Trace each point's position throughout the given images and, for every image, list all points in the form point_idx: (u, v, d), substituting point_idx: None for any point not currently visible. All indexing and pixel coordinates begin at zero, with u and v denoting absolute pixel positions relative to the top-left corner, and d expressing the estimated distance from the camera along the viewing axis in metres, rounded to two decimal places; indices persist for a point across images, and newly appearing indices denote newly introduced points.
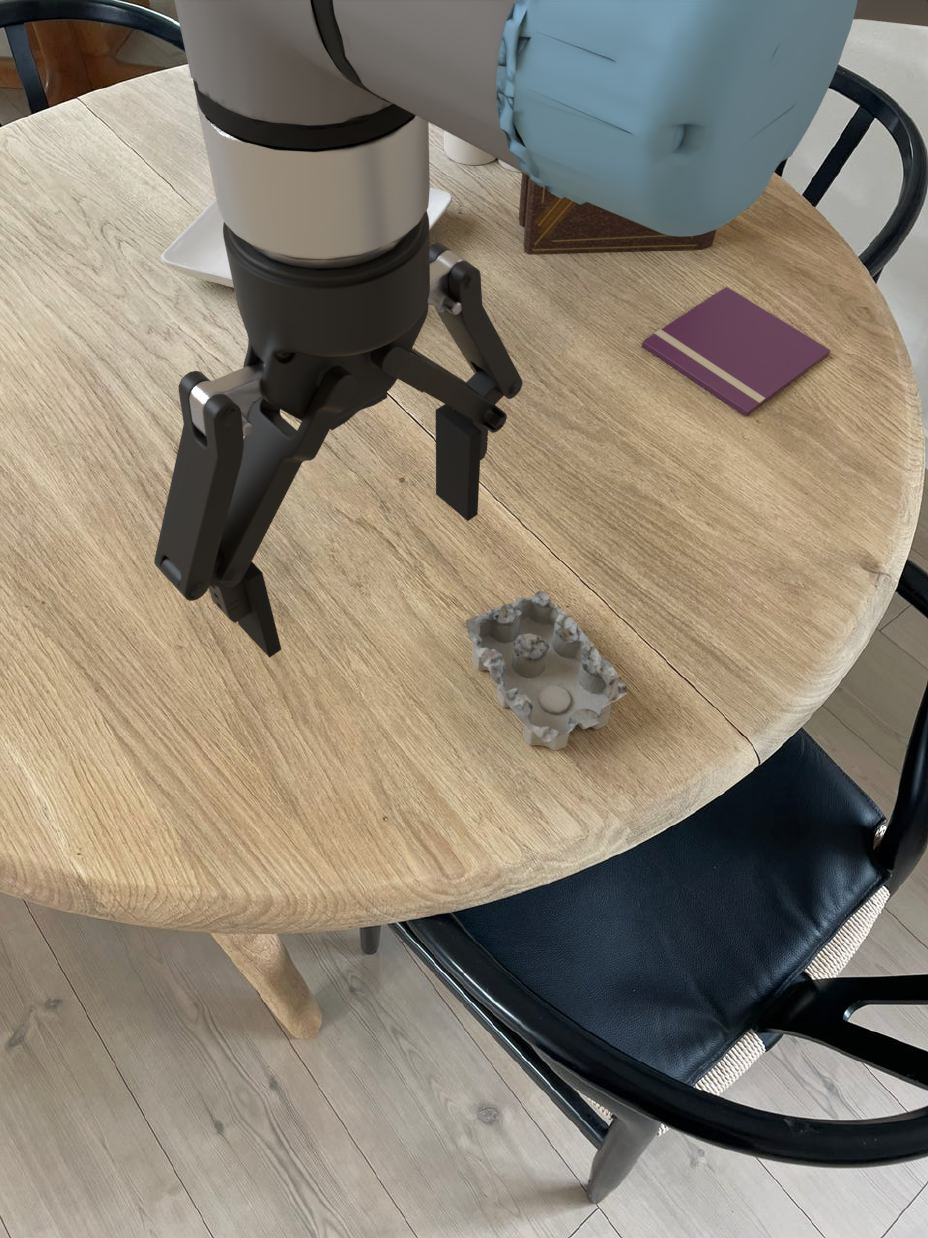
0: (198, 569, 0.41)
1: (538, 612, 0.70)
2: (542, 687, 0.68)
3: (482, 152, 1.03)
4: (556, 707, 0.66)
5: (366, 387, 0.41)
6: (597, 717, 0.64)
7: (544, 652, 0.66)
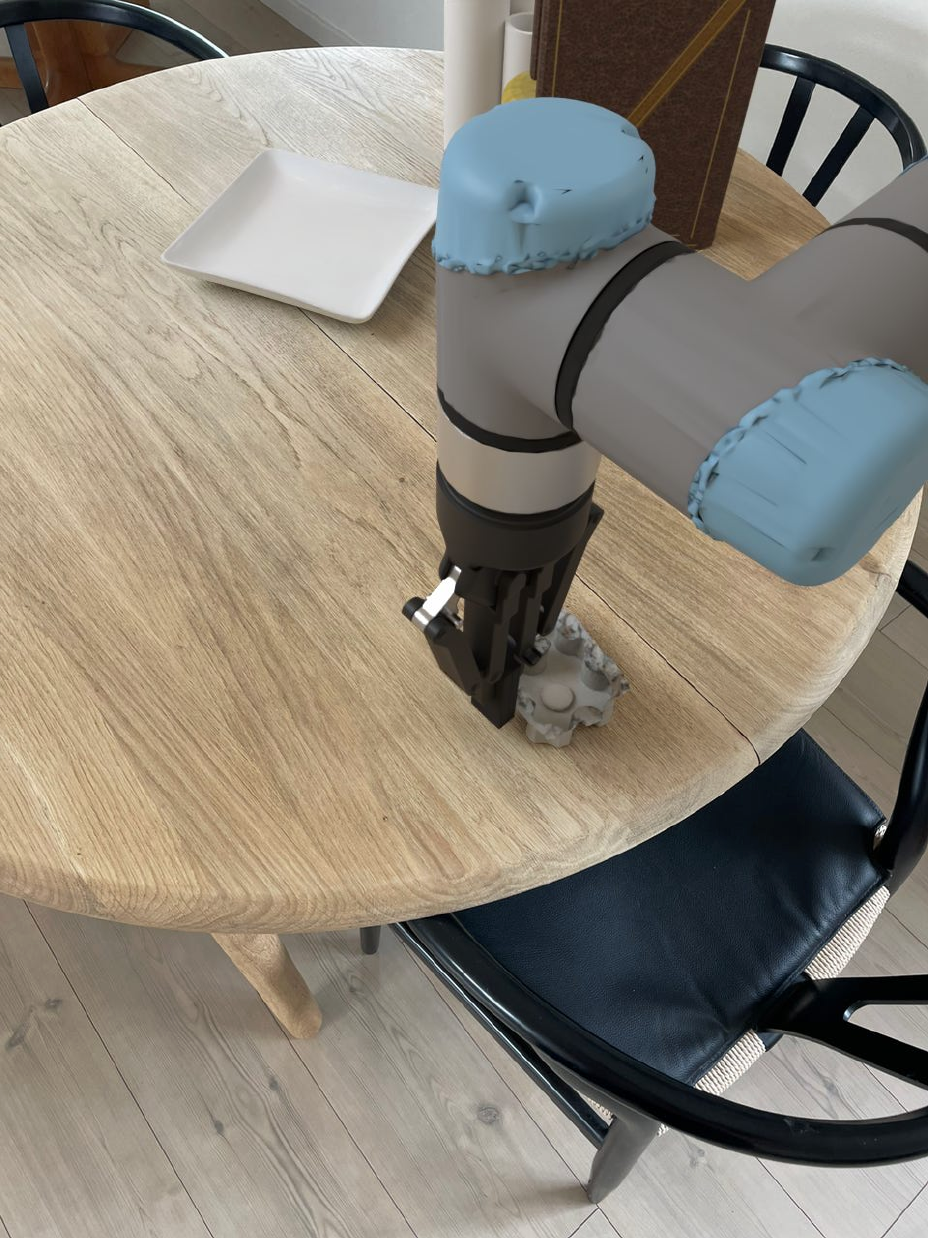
0: (469, 683, 0.55)
1: None
2: (544, 685, 0.68)
3: None
4: (559, 704, 0.67)
5: (526, 573, 0.51)
6: (600, 714, 0.64)
7: (546, 650, 0.66)
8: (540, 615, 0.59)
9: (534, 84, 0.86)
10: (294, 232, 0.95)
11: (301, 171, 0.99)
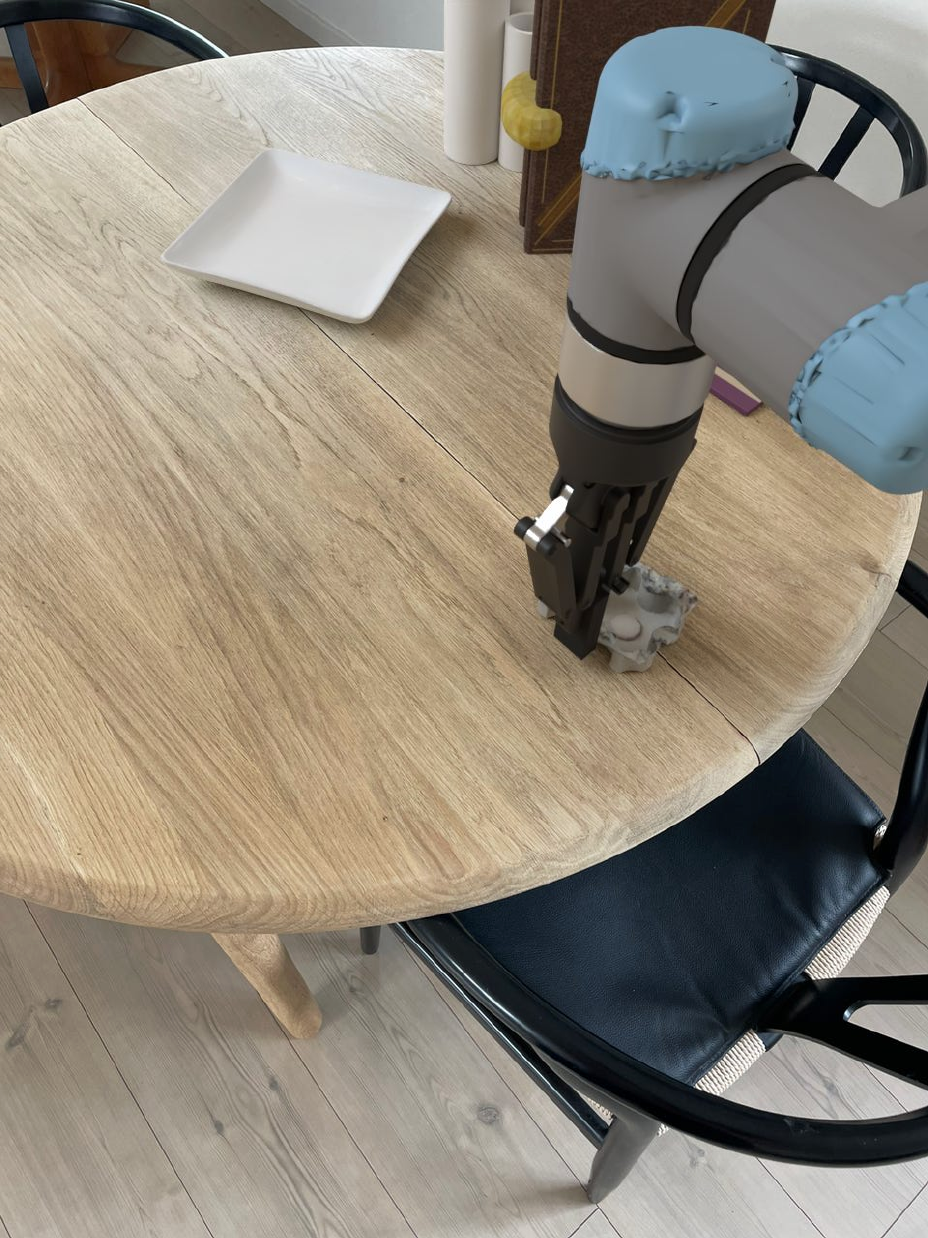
0: (566, 606, 0.58)
1: None
2: (610, 618, 0.71)
3: (482, 152, 1.03)
4: (630, 633, 0.70)
5: None
6: (676, 631, 0.68)
7: None
8: None
9: (534, 84, 0.86)
10: (294, 232, 0.95)
11: (301, 171, 0.99)
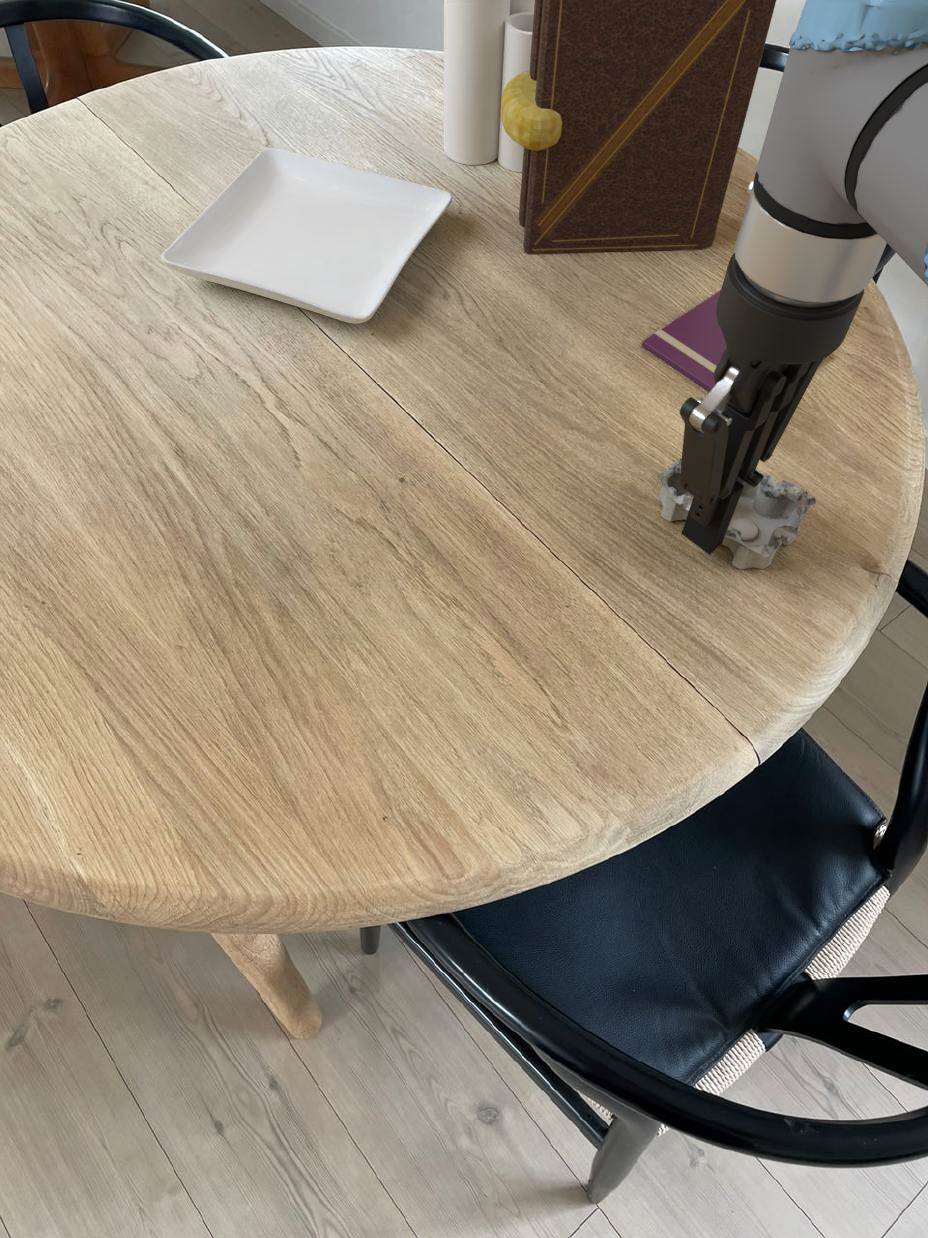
0: (712, 491, 0.64)
1: None
2: None
3: (482, 152, 1.03)
4: (749, 534, 0.75)
5: None
6: (795, 530, 0.73)
7: None
8: None
9: (534, 84, 0.86)
10: (294, 232, 0.95)
11: (301, 171, 0.99)
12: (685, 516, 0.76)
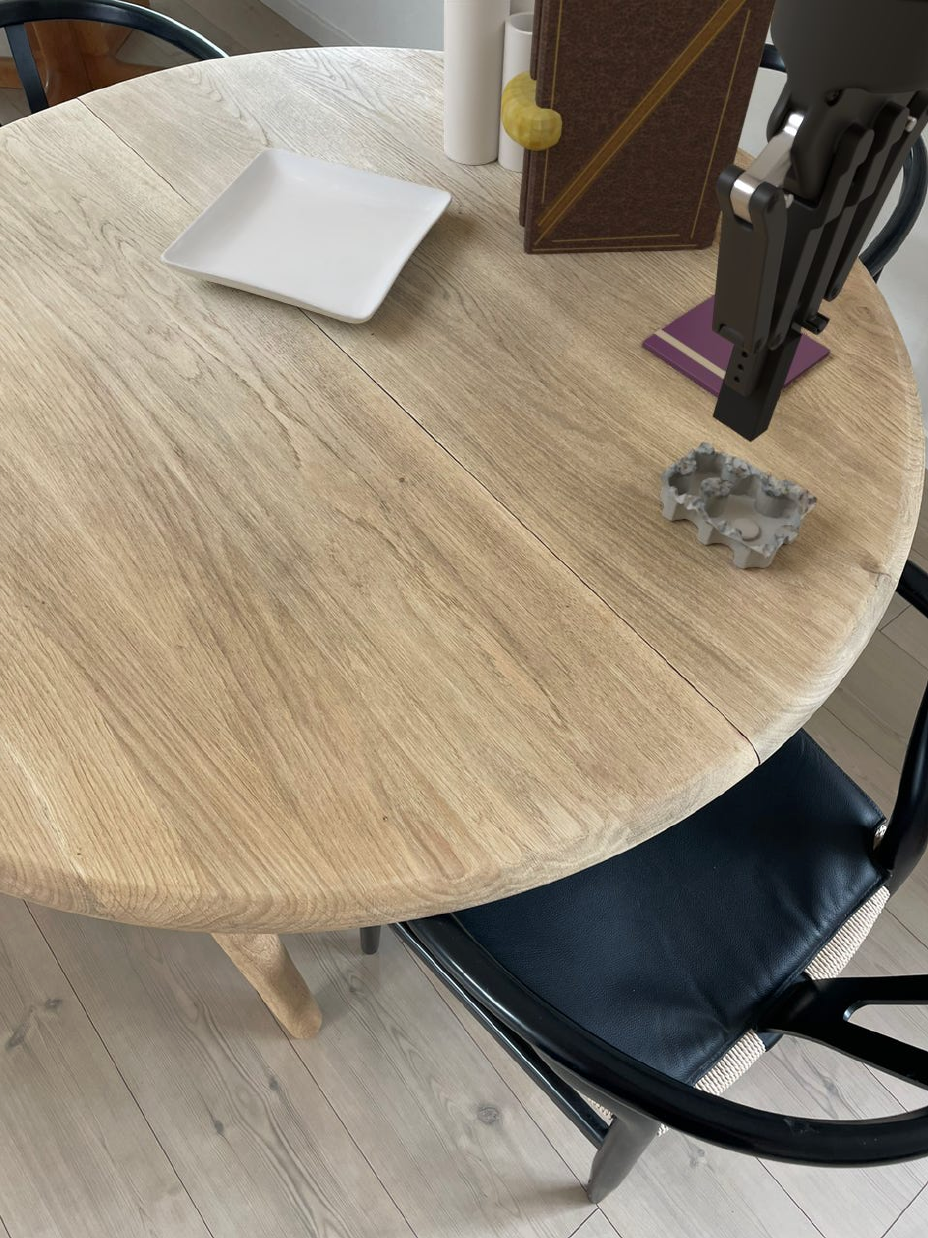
0: (759, 329, 0.45)
1: (704, 461, 0.78)
2: None
3: (482, 152, 1.03)
4: (750, 534, 0.75)
5: None
6: (796, 529, 0.73)
7: (731, 488, 0.75)
8: None
9: (534, 84, 0.86)
10: (294, 232, 0.95)
11: (301, 171, 0.99)
12: (686, 515, 0.76)
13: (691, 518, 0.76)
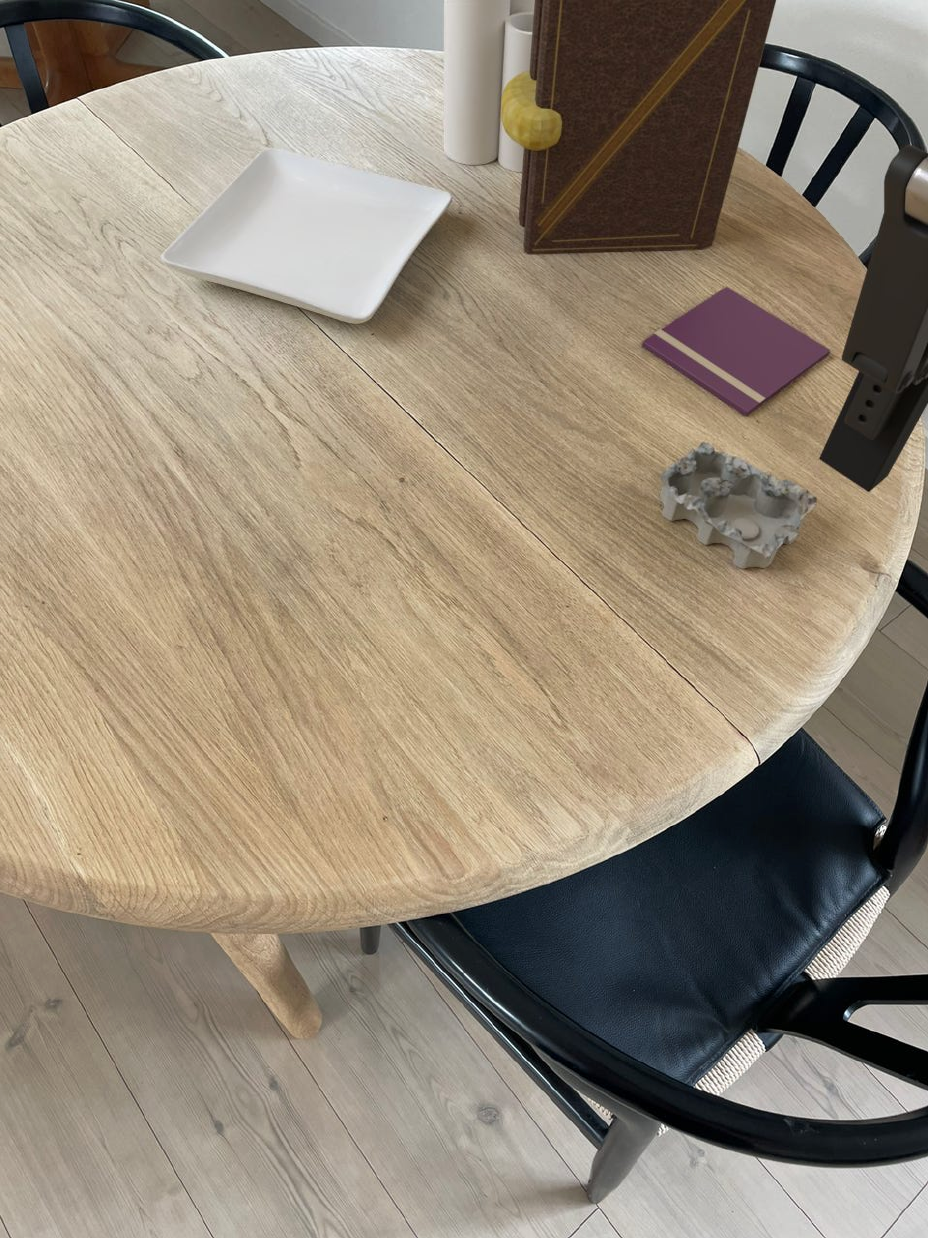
0: (911, 361, 0.35)
1: (704, 461, 0.78)
2: None
3: (482, 152, 1.03)
4: (750, 534, 0.75)
5: None
6: (796, 529, 0.73)
7: (731, 488, 0.75)
8: None
9: (534, 84, 0.86)
10: (294, 232, 0.95)
11: (301, 171, 0.99)
12: (686, 515, 0.76)
13: (691, 518, 0.76)
